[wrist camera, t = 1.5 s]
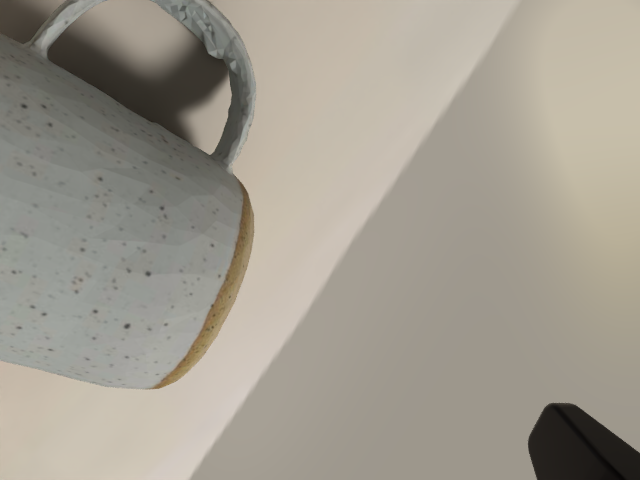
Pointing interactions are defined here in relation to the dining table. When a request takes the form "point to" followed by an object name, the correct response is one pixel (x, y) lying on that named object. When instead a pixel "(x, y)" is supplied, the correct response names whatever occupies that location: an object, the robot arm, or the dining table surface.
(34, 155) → the ceramic mug
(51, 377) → the dining table surface
